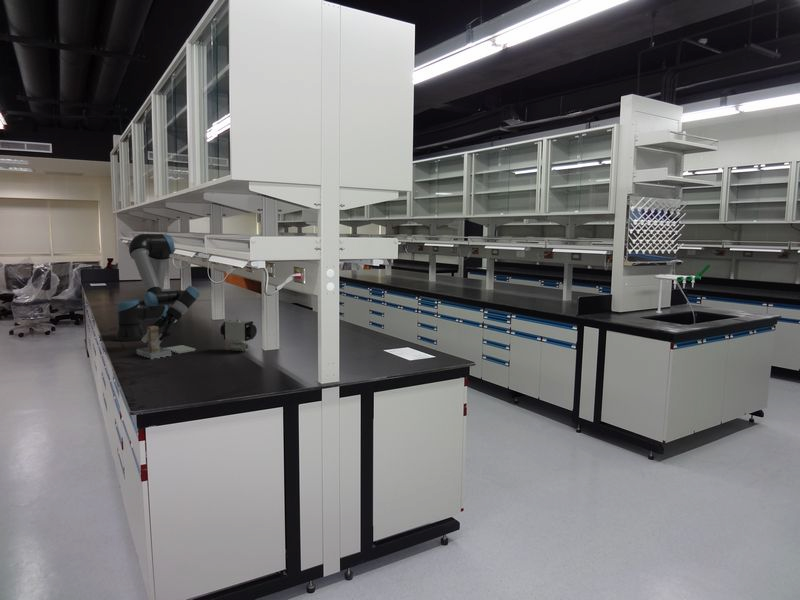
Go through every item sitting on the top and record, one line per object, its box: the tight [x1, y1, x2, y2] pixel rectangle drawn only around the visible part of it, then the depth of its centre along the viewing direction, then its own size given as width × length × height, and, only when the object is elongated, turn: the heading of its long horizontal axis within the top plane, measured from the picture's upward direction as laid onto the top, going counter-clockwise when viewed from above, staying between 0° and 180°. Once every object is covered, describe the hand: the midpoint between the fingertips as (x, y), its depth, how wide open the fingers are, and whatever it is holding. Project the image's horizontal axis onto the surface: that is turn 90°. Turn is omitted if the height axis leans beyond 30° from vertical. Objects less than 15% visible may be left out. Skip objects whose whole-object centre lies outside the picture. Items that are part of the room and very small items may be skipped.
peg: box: [146, 325, 161, 351], centre depth 263 cm, size 4×4×15 cm
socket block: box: [136, 346, 172, 360], centre depth 264 cm, size 16×10×3 cm, turn 50°
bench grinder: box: [219, 317, 258, 352], centre depth 277 cm, size 18×8×18 cm, turn 76°
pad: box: [164, 344, 197, 354], centre depth 277 cm, size 14×10×1 cm
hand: (148, 343), depth 262 cm, fingers open, 12 cm apart
